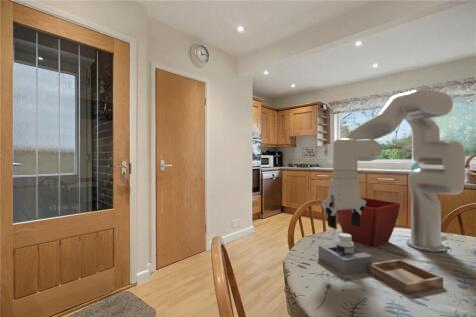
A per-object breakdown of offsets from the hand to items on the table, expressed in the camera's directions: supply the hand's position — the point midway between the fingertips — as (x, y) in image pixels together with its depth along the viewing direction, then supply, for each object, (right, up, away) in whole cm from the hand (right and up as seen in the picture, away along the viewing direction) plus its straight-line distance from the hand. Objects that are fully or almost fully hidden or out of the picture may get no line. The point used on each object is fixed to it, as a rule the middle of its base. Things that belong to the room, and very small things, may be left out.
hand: (343, 226), depth 81 cm
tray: (+13, -13, -10) cm, 21 cm away
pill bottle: (0, -13, 0) cm, 13 cm away
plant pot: (+20, -13, +24) cm, 34 cm away
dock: (0, -13, 0) cm, 13 cm away
